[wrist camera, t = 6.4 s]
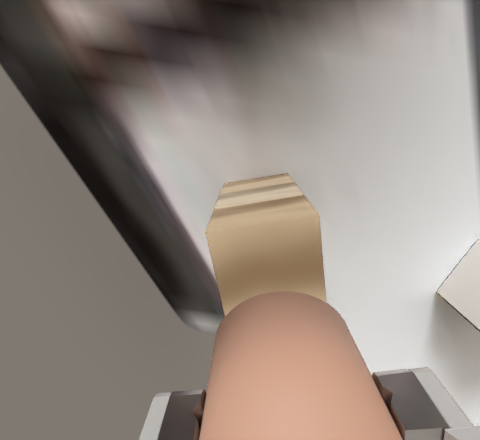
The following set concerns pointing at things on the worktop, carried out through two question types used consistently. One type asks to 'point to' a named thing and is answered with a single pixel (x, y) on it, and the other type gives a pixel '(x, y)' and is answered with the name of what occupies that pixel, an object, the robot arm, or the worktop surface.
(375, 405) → the pink rounded cylinder
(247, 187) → the tower base
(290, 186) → the tower mid
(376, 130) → the worktop surface
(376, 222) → the worktop surface
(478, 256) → the medicine bottle
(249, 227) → the tower top
